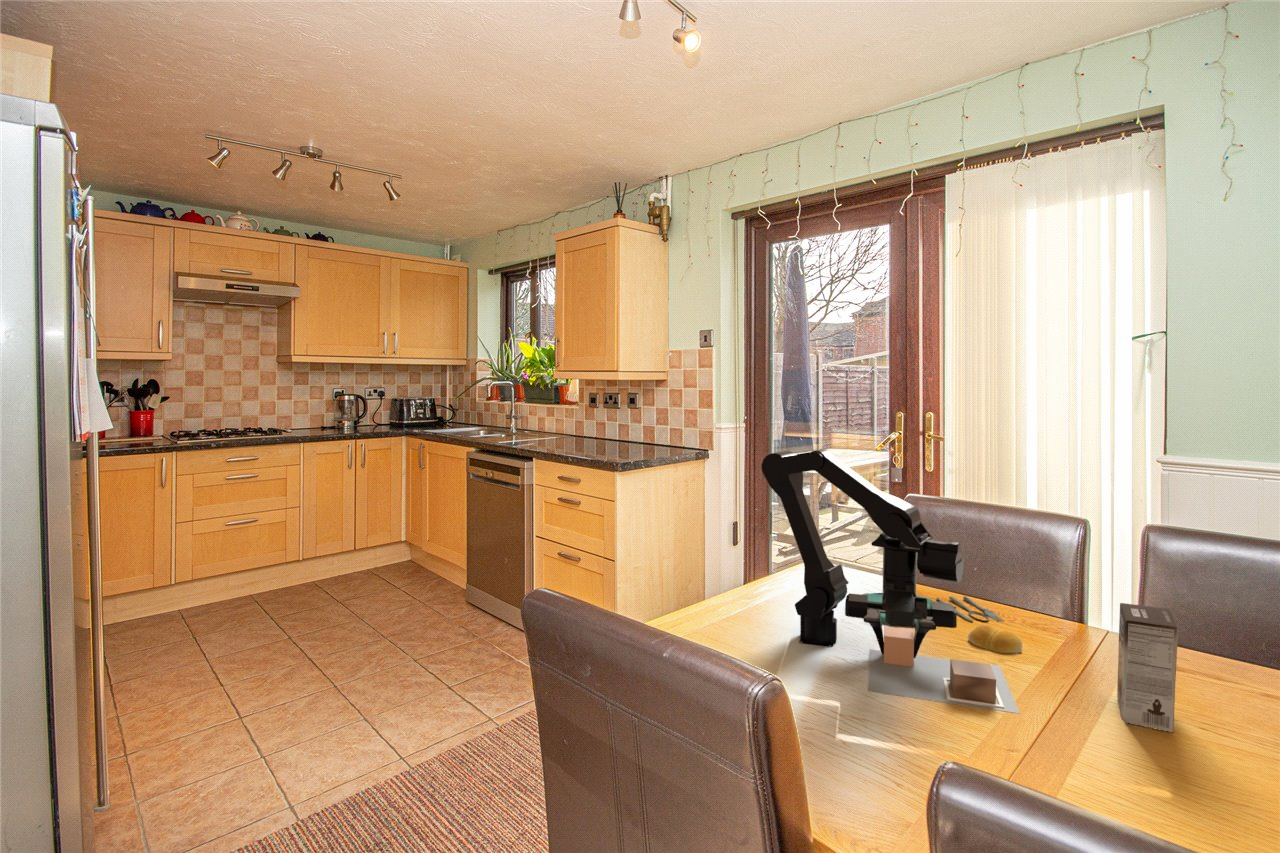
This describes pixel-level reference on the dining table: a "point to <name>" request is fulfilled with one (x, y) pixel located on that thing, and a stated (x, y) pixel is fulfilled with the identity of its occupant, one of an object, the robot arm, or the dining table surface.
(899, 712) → the dining table surface
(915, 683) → the slate board
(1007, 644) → the bread roll
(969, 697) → the walnut block
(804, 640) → the robot arm
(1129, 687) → the coffee box
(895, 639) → the terracotta block
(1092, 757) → the dining table surface
